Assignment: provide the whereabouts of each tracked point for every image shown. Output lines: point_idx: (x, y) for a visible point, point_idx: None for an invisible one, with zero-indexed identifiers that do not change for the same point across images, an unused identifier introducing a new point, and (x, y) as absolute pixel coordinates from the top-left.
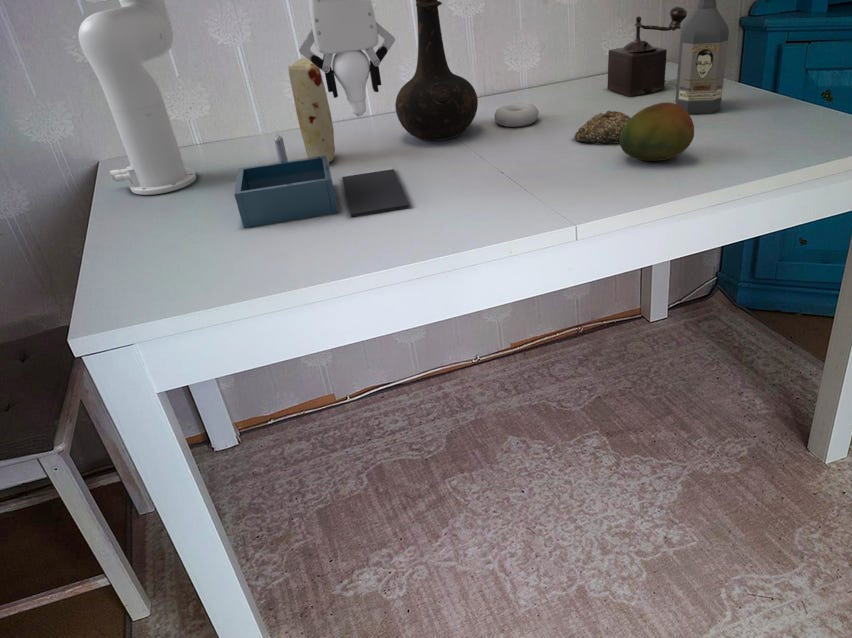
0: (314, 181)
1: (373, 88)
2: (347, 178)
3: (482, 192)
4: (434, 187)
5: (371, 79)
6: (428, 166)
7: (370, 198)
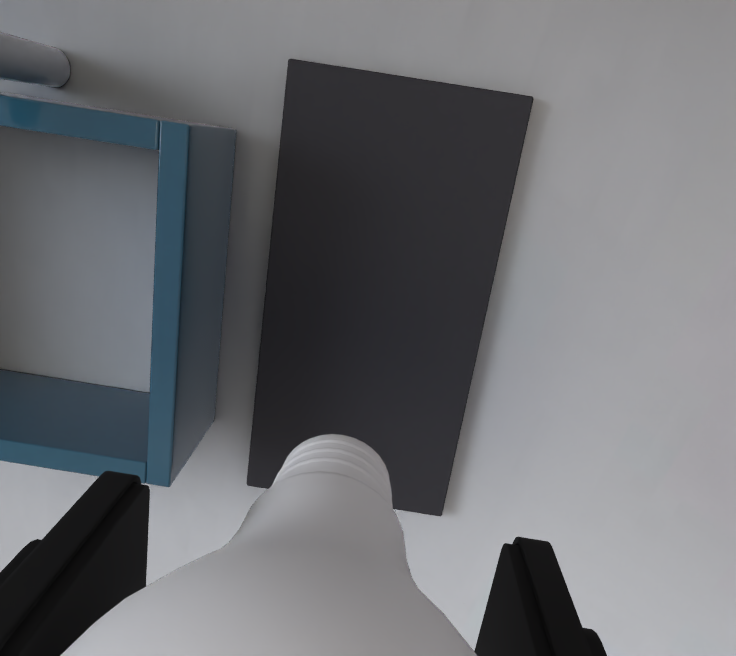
0: (99, 474)
1: (482, 649)
2: (305, 101)
3: (708, 521)
4: (594, 384)
5: (511, 647)
6: (697, 118)
7: (339, 392)
